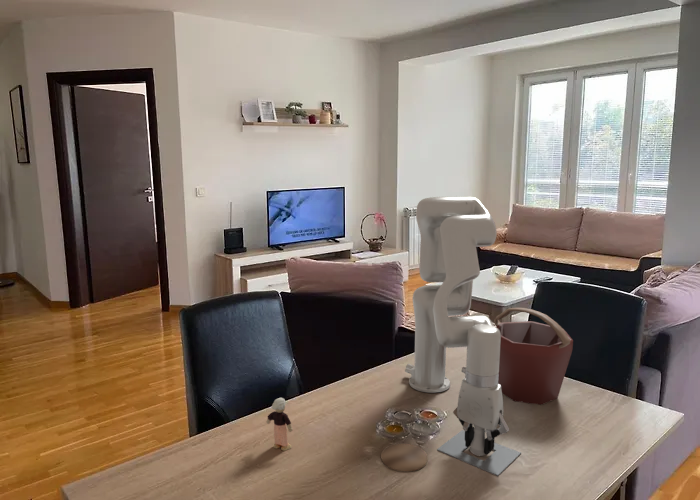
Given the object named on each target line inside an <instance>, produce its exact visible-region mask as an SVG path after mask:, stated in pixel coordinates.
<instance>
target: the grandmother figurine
mask: <svg viewBox="0 0 700 500" xmlns="http://www.w3.org/2000/svg"><path fill="white" fill-rule="evenodd" d="M271 409H272V410H274V411H271V412H270V413H269V414H268V415H267V419H266V421H265V422H266V424H268V425H269V424H271V421H273V423H274V424H273V425H274V426H273V437H274V444H273V449H280V450H282V452H283V451H288V450H291V449H292V448H293V447H292V444H290V443H289V441H288V432H289V433H291V432H293V430H294V429H293V427H292V422H291V419H290V418H289V416H288V414H287V413H286V412H284V411H285V409H286V400H285V398H284V397H279V398H276V399H274V401H273V403H272V405H271ZM287 430H288V431H287Z"/></svg>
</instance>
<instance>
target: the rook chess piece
mask: <svg viewBox="0 0 700 500" xmlns="http://www.w3.org/2000/svg"><path fill="white" fill-rule="evenodd" d="M473 427H474V432H475V433H474V439H473V440H472V442H471V444H470V446H469V451H470V452H471V454H472V453H473V454H472V455H473V456H474V455H475V456H477V457H483V456H487V455H486V454H485V453H484V442H485V439H486V429H484V428H481V427H478V426H476V425H473Z"/></svg>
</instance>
